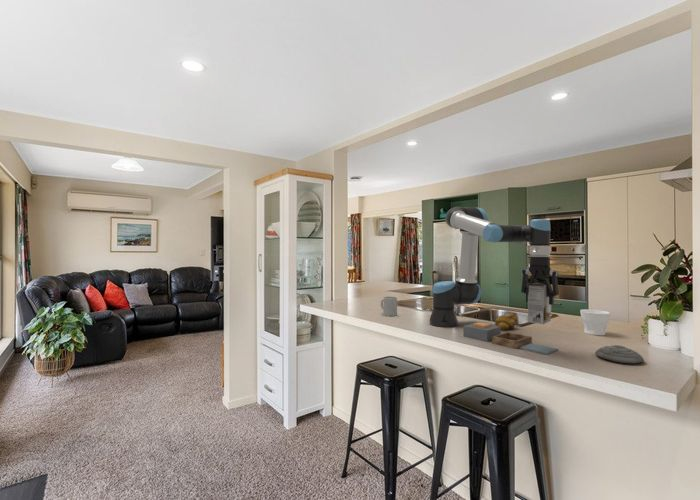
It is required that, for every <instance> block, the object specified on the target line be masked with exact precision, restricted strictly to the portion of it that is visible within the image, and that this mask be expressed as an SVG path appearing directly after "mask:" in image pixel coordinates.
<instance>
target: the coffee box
mask: <svg viewBox="0 0 700 500" xmlns="http://www.w3.org/2000/svg"><path fill="white" fill-rule="evenodd" d="M550 285H551V286H552V283H550ZM527 287H528V302H527V322H528V323H530V324H531V323H533V324H537V325H538V324H539V325H545V324H548V323H549V322H551V321H552V318H551V316H552V315H551V313H552V311H551V312H550V313H546V298H547V297H548V293H547V285H545V284H544V282H538V281H537V282H536V281H535V283H530V284H529V283H528V284H527Z"/></svg>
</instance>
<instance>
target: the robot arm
mask: <svg viewBox="0 0 700 500" xmlns="http://www.w3.org/2000/svg"><path fill="white" fill-rule="evenodd" d="M444 220H445V223H446V224H447V226H448V227H450V228H453V229H455V230H459V232H460V234H461V244H460V246H461V247H460V258H459V270H458V277H457V278H455V281H452V280H447V281H445V280H444V281H438V282H435V283H434V284H433V286H432V311H431V315H430V317H429V324H430V325H432V326H434V327H441V328H455V327H457V326H459V321H458V319H457V318H458V317H457V315H456V311H455V307H456V305H459V306H460V305H473V304H476V303H477V302H479V300H480V299H481V296H482V288H481V285H480V284H478V280H477V279H476V269H477V256H478V246H479V237H482V238H483V239H484V240H485V241H486V242H488V243H517V244H518V243H519V244H521V243H529V255H530V257H529V268H527V269H522V271H521V273H522V281H521V289H520V290H521V291H520V292H521V293H523V294H525V302H527V303H528V284H530V283H535V282H536V281H537V279H540V280H542V283H544V284H545V285H547V293H548V297H547V298H546V313H550V312H551V313H552V305H554V302H555V301H554V298H555V297H556V296H559V295H560V293H559V283H558V275H559V271H558V270H552V269H551V267H550V266H551V257H550V256H551V231H552V230H551V221H550V220H549V219H547V218H538V219H537V218H536V219H535V218H534V219H531V220H530V222H529V225H528V224H526V225H525V224H524V225H515V224H513V225H512V224H499V223H495V222H492V221H489V220H488V214H487V212H486V211H485V210H484V209H483V208H481V207H475V206H473V207H472V206H471V207H470V206H454V207H451V208H450V209H449V210H448V211H447V212H446V214H445V217H444ZM529 275H531V276H530V280H529ZM549 275H550V276H551V283H550V278H549ZM550 284H551V285H550Z"/></svg>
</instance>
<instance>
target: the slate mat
mask: <svg viewBox="0 0 700 500" xmlns="http://www.w3.org/2000/svg"><path fill="white" fill-rule="evenodd" d="M518 349H519V350H524V351H529V352H533V353H537V354H540V355H541V354H542V355H545V356H547V355H549V354H552V353H555V352H557V351H559V348H557V347H553V346H550V345H549V346H548V345H543V344H539V343H536V342H535V343H534V342H532V343H529V344H527V345H524V346H521V347H519V348H518Z"/></svg>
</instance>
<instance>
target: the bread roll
mask: <svg viewBox="0 0 700 500" xmlns="http://www.w3.org/2000/svg"><path fill="white" fill-rule="evenodd" d="M517 321H518V315H517V314H516V313H509V314H507V315H499V316H497V318H496V319H495V320H494V324H495V326H499V327H501V330H502V331H503V330H505V331H506V330H507V331H508V330H513V329H515V326H516V323H517Z"/></svg>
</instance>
